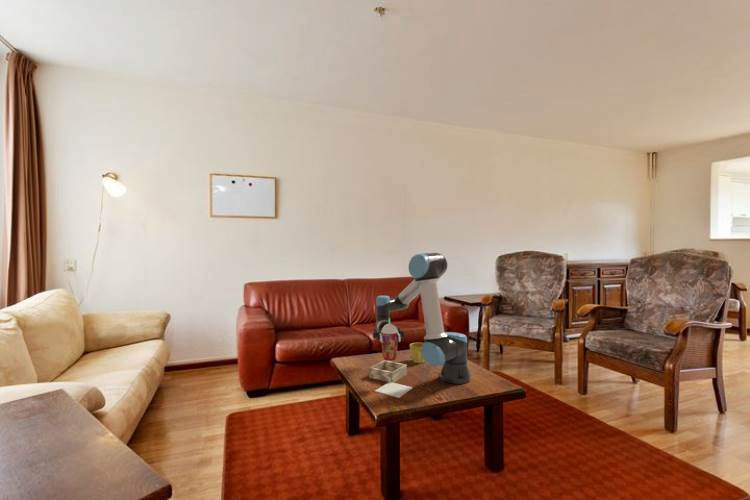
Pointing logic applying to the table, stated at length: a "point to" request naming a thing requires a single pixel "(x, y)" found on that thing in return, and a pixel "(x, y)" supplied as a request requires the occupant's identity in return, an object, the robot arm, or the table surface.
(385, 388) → the mat
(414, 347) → the plant pot
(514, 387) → the table surface
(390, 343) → the smoothie
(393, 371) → the holder
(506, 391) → the table surface
